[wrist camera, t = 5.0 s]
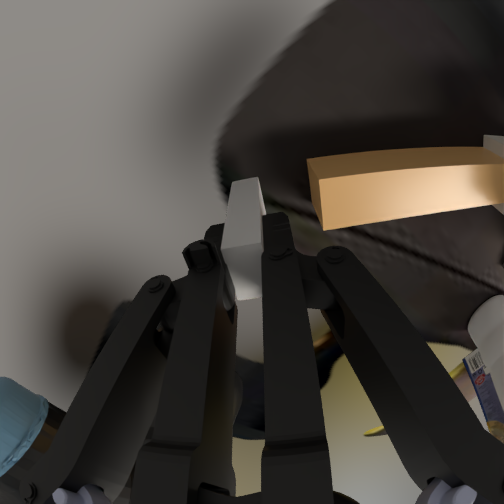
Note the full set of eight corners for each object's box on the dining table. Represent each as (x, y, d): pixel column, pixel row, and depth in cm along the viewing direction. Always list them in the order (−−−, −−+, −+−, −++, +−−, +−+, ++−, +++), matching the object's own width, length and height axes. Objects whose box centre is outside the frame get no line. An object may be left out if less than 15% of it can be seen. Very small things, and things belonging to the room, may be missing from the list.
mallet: (313, 215, 18) (343, 303, 12) (304, 143, 16) (343, 201, 9) (514, 189, 16) (569, 238, 10) (520, 137, 13) (585, 179, 7)
